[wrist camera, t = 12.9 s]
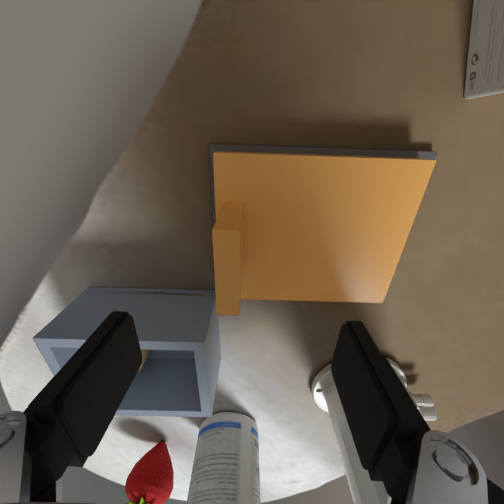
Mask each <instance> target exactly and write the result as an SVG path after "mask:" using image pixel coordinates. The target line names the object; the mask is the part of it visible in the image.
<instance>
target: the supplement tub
mask: <svg viewBox="0 0 504 504" xmlns="http://www.w3.org/2000/svg"><path fill="white" fill-rule="evenodd" d="M187 504H260V476H259V446H258V428H257V425H256V423H255V422H254V421H253V420H252V419H251V418H250V417H248V416H246V415H244V414H240V413H232V412H221V413H216V414H214V415H212V417H208V418H206V419H205V420H204V421H203V422H202V424H201V426H200V429H199V435H198V440H197V446H196V452H195V458H194V464H193V469H192V475H191V481H190V487H189V493H188V499H187Z"/></svg>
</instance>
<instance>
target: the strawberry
mask: <svg viewBox="0 0 504 504" xmlns="http://www.w3.org/2000/svg"><path fill="white" fill-rule="evenodd" d="M173 474H174V472H173V467H172V463H171V458H170V456H169V453H168V449H167V445H166V443H165V442H159V443H158V444H157V445H156V446H155V447H153V448H152V449H151V450H150V451H148V452H147V453H146V454H145V455H144V456H143V457H142V458H141V459H140V460H139V461H138V462H137V463H136V464H135V466H134V468H133V469H132V471H131V473H130V474H129V476H128V478H127V481H126V486H125V491H126V495H127V497H128V499H130V500H131V501H132V502H131V501H129V503H125V504H163V503H164V502H166V501H167V500H168V498H169V497H170V494H171V492H172V489H173Z"/></svg>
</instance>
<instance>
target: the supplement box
mask: <svg viewBox="0 0 504 504" xmlns="http://www.w3.org/2000/svg"><path fill="white" fill-rule="evenodd" d="M502 92H504V0H474V2H473V10H472V20H471V30H470V40H469V50H468V59H467V69H466V81H465V92H464V98H465V99H472V98H477V97H482V96H487V95H493V94H498V93H502Z"/></svg>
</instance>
